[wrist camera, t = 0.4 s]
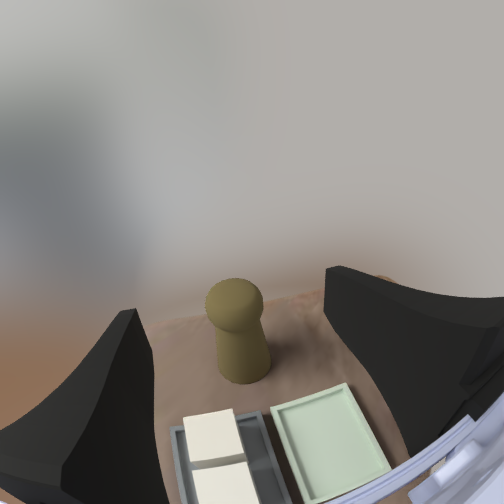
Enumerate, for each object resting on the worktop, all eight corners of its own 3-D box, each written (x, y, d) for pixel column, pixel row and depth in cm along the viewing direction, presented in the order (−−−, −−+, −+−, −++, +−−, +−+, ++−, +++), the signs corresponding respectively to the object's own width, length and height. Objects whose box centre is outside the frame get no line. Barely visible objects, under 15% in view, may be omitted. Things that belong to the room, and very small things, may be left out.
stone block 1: (249, 463, 19) (243, 452, 17) (203, 471, 19) (190, 461, 16) (238, 426, 23) (232, 408, 20) (196, 433, 22) (183, 417, 20)
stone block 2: (263, 509, 15) (260, 508, 13) (215, 518, 14) (202, 517, 12) (251, 471, 19) (246, 461, 16) (205, 479, 18) (191, 470, 15)
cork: (265, 337, 33) (259, 263, 27) (277, 378, 28) (274, 307, 22) (215, 346, 32) (196, 274, 26) (221, 388, 27) (198, 321, 21)
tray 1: (294, 510, 15) (295, 510, 14) (191, 528, 14) (187, 528, 13) (260, 414, 24) (260, 410, 23) (173, 430, 23) (169, 427, 22)
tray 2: (387, 472, 17) (391, 469, 16) (305, 507, 15) (307, 506, 15) (343, 387, 26) (345, 382, 25) (270, 411, 24) (270, 407, 24)
